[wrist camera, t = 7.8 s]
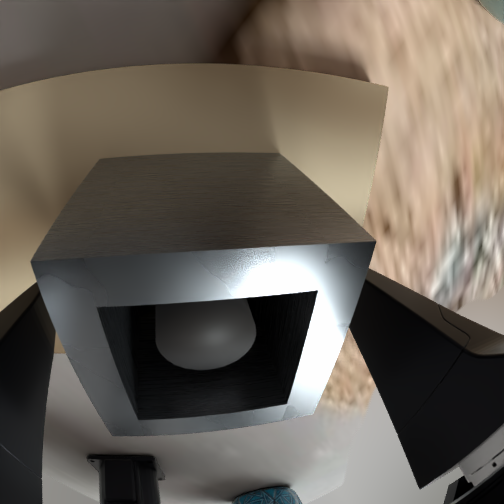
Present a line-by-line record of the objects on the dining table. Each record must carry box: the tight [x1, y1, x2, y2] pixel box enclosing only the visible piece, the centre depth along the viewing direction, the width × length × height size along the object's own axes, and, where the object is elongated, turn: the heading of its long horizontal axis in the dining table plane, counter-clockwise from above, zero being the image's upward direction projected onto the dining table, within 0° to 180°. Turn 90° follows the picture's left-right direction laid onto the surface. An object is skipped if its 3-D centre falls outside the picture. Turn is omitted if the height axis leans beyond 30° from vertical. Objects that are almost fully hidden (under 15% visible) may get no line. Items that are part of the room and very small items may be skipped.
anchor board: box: [0, 63, 388, 370], centre depth 9 cm, size 12×18×6 cm, turn 86°
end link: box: [30, 152, 376, 436], centre depth 9 cm, size 6×6×6 cm
